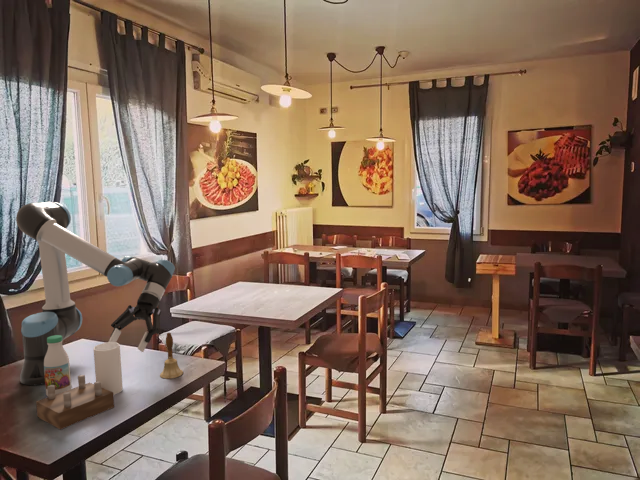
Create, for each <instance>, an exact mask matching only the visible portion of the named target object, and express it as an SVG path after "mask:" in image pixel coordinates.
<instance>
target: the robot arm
mask: <svg viewBox="0 0 640 480" xmlns="http://www.w3.org/2000/svg"><path fill="white" fill-rule="evenodd" d="M15 220H16V225H17V226H18V227H17V228H18V229H19V230H20V231H21V232H22V233H23V234H25V235H26V236H28V237H30V238H31V239H33V240H35V241H36V242H38V249H39V257H40V264H41V265H40V266H41V274H42V281H43V282H42V283H43V289H44V297H45V304H44V305H43V306H42V307H41V309H42V310H41V312H37V313H34V314H30V315H29V316H26V317H25V318H24V319H23V320H22V321H21V329H20V332H21V337H22V338H21V339H22V348H23V357H24V358H23V359H24V360H23V363H22V367H21V368H22V369H21V371H20V375H19V377H20V383H21V384H22V385H26V386H38V385H39V386H40V385H41V386H42V385H45V375H44V358H45V355H46V353H47V350H48V344H47V338H48V337H50V336H54V335H61V336H62V341H64V340H66V339H67V338H69V337H71V336H73V335H74V334H75V333H76V332H77V331H79V330H80V329H81V326H82V324H83V315H82V312H81V310H79V309H78V308H77V307H76V302H75V301H74V300H72V299H71V292H70V285H69V276H68V275H69V274H68V268H67V260H66V255H67V256H69V257H70V258H72V259H75V260H77V262H80V263H81V264H83V265H85V266H86V267H89V268H90V269H92V270H94V271H96V272H98V274H99V273H100V274H101V275H103V276H105V277H106V278H107V281H108V282H109V283H110V285H112V286H113V287H122V286H126V285H128V284H130V283H131V282H134V281H136V280H137V279H138V280H141V281H145V282H146V283H145V285H144V287H143V289H142V291H141V293H140V295H139V297H138V298H137V301H136V306H135V307H134V306H132V305H128V306H127V308H126V309H125V310H124V311H123V312H122V313H121V314H120V315H119V316H118V317H117V318H116V319H115V320H114V321H113V322H112V323H111V325H110V326H111V327H112V328H113V330H112V333H111V334H110V338H109V340H108V342H107V343H109V342H115V343H117V341H118V340H119V337H120V335H121V334H122V330H123V329H124V328H125V327H127V326H129V325H130V324H131V323H133V322H134V321H135V322H136V321H137V320H142V321H145V325H146V328H147V330H146V331H145V332H144V334H143V336H142V338H141V340H140V342H139V344H138V346H137V350H139V351H140V352H141V353H144V351H145V350H146V347H147V345H148V343H150V341H151V340H152V338H153V336H154V335H156V334H157V335H158V334H160V333H161V332H160V331H161V330H160V328H161V327H160V325H161V324H160V323H161V319H160V318H161V314H162V310H161V309H160V308H158V306H159V305H160V302H161V300H162V297H163V296H164V294H165V292H166V289H167V287H168V285H169V284H170V282H171V280H172V278H173V275H174V272H175V270H176V266H175V264H174V263H172V262H171V261H170V260H168V259H162V258H161V259H159V260H158V261H157V262H156V263H154V262H150V261H148V260H146V259H145V260H144V259H141V258H138V257H137V256H133V255H132V256H131V255H125V256H124V257H123V258H122V259H119V258H117V257H115V256H114V255H112V254H110V253H109V252H107V251H105V250H103V249H101V248H100V247H98V246H97V245H95V244H92V242H89V241H87V240H86V239H84V238H83V237H81V236H79V235H77V234H76V233H73V232H71V231H70V230H68V229H67V228H68V227H69V225H71V220H72V219H71V213H70V211H69V209H68V208H67V207H66V206H65V205H64V204H62V203H59V202H56V201H45V202H31V203H26V204H25V205H23V206H21V208H19V209H18V211H17V212H16V216H15ZM152 318H153V319H152Z"/></svg>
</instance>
